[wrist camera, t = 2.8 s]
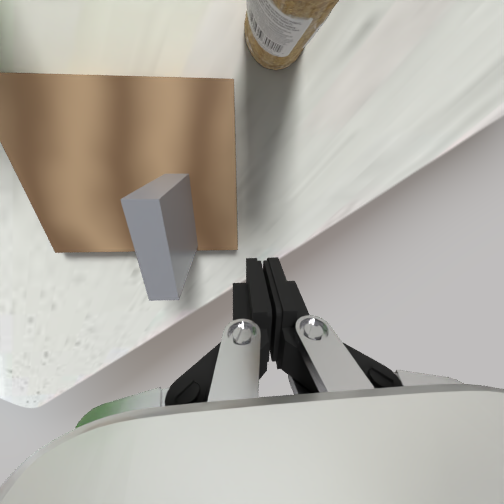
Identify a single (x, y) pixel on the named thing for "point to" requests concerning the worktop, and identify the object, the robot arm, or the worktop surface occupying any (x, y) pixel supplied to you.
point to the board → (119, 151)
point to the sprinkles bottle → (283, 28)
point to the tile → (163, 233)
